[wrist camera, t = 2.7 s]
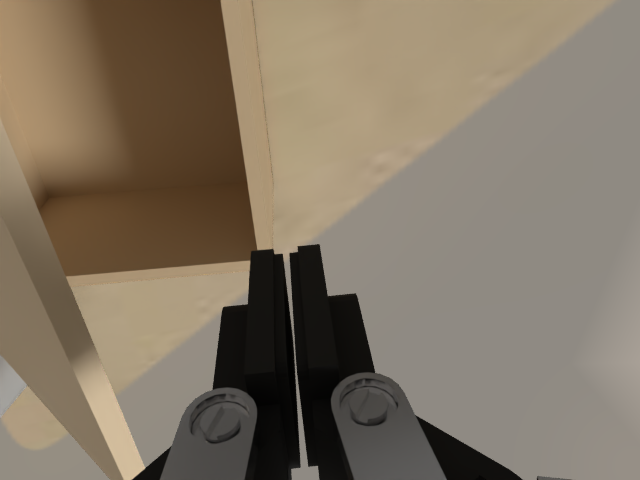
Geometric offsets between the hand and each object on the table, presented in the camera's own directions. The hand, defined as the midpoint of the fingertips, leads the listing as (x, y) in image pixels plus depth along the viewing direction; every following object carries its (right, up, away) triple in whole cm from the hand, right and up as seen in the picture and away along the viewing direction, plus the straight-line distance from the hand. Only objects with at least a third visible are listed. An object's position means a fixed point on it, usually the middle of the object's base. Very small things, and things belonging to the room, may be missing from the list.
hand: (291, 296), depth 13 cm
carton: (-10, +10, +15) cm, 20 cm away
